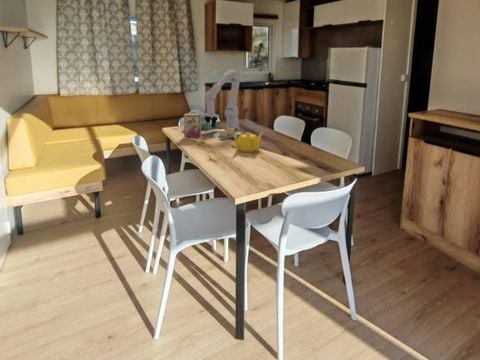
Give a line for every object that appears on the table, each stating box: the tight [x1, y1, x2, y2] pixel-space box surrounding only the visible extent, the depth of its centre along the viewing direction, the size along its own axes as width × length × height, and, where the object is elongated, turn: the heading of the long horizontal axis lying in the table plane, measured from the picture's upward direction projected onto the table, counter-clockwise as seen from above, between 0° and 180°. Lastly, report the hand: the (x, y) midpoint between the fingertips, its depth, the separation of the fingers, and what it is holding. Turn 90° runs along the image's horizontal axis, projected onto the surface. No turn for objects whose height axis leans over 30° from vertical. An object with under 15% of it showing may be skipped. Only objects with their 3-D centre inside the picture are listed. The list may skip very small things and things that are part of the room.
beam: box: [202, 120, 220, 131], centre depth 285 cm, size 14×4×4 cm, turn 142°
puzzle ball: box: [187, 109, 206, 129], centre depth 298 cm, size 15×15×15 cm
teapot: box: [233, 132, 264, 153], centre depth 239 cm, size 22×16×11 cm
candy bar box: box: [183, 113, 202, 139], centre depth 271 cm, size 11×5×16 cm, turn 84°
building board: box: [201, 127, 245, 141], centre depth 281 cm, size 24×26×5 cm
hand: (211, 127), depth 285 cm, fingers closed on beam, 4 cm apart
